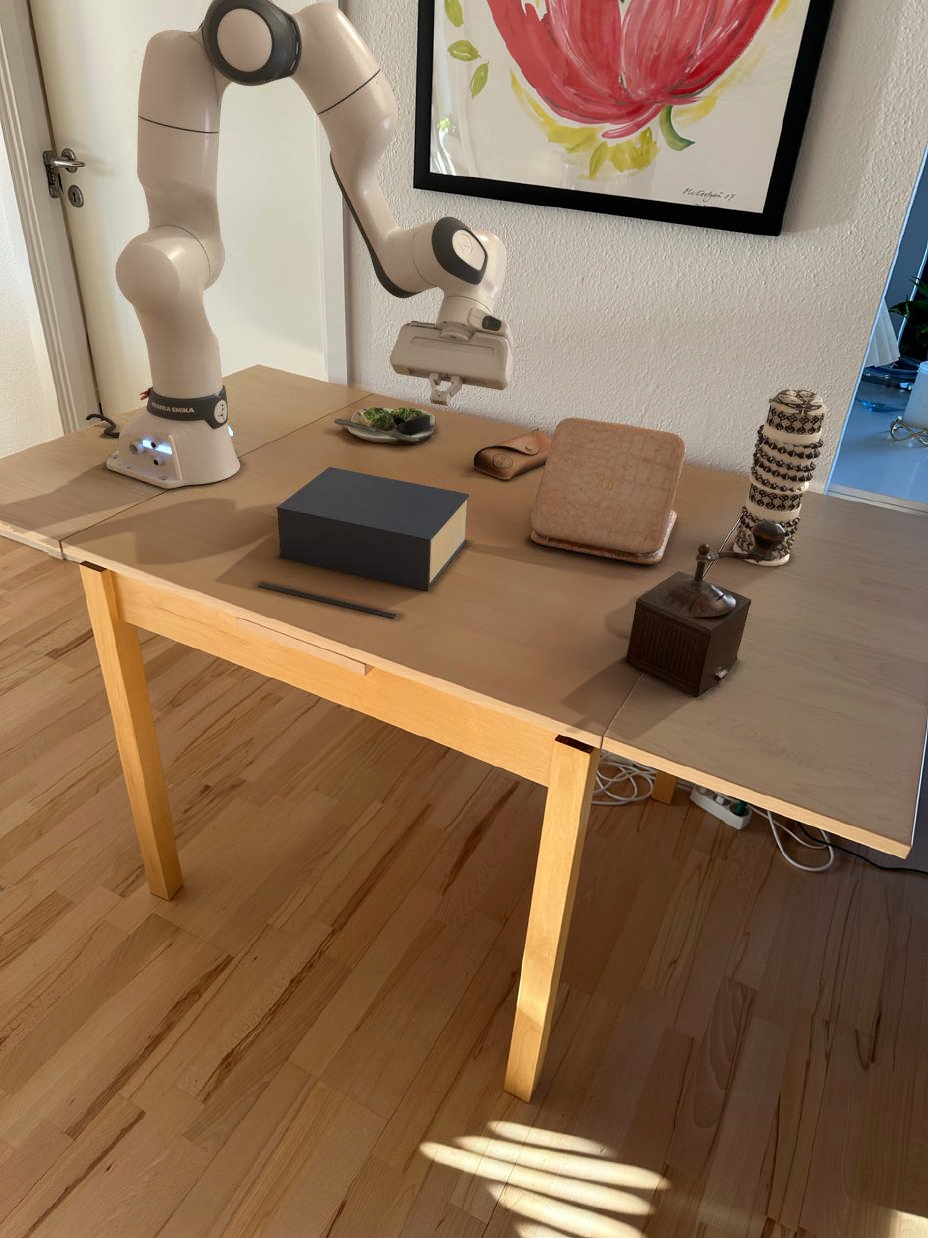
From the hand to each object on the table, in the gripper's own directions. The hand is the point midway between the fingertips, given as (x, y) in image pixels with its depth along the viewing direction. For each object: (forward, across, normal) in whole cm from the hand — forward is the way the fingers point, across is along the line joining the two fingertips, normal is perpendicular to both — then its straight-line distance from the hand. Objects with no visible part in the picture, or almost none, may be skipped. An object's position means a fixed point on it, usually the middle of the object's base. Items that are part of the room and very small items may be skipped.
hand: (438, 403), depth 146 cm
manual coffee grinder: (+34, +48, -13) cm, 60 cm away
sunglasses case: (-2, +10, +23) cm, 25 cm away
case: (+13, +30, +8) cm, 34 cm away
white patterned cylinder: (+11, +54, +10) cm, 56 cm away
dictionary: (+28, 0, -7) cm, 29 cm away
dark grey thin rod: (+39, 0, -18) cm, 43 cm away
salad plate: (-5, -17, +26) cm, 31 cm away
